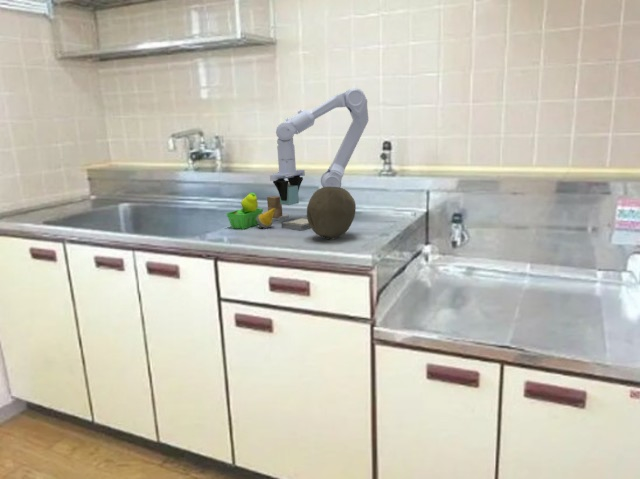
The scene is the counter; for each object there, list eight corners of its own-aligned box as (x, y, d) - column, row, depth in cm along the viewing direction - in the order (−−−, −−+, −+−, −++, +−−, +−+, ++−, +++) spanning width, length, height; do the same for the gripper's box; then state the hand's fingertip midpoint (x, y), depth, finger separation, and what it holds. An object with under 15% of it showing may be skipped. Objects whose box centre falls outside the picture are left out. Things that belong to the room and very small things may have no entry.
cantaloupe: (353, 243, 149) (351, 190, 146) (304, 243, 152) (300, 191, 148) (359, 232, 163) (357, 182, 159) (313, 232, 165) (310, 184, 162)
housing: (289, 202, 186) (288, 182, 185) (298, 203, 183) (297, 182, 182) (280, 204, 183) (278, 183, 182) (289, 205, 180) (288, 184, 179)
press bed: (303, 222, 181) (302, 217, 181) (322, 224, 175) (322, 220, 175) (281, 227, 174) (281, 222, 174) (301, 230, 168) (301, 225, 168)
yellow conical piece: (266, 226, 180) (283, 207, 175) (264, 236, 176) (281, 216, 171) (253, 218, 178) (269, 198, 173) (250, 227, 174) (267, 208, 169)
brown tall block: (274, 214, 191) (273, 196, 189) (282, 215, 188) (281, 196, 187) (268, 216, 189) (267, 197, 187) (276, 217, 186) (274, 198, 185)
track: (280, 216, 194) (280, 213, 193) (289, 217, 191) (289, 215, 190) (257, 221, 186) (257, 219, 186) (266, 222, 183) (265, 220, 183)
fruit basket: (247, 221, 187) (244, 189, 184) (268, 223, 182) (265, 190, 180) (226, 228, 177) (223, 194, 175) (247, 230, 173) (244, 195, 170)
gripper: (293, 156, 188) (296, 195, 191) (262, 161, 177) (265, 201, 180) (308, 157, 183) (310, 196, 186) (277, 161, 173) (280, 203, 176)
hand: (289, 199), depth 183 cm, fingers closed on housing, 4 cm apart
